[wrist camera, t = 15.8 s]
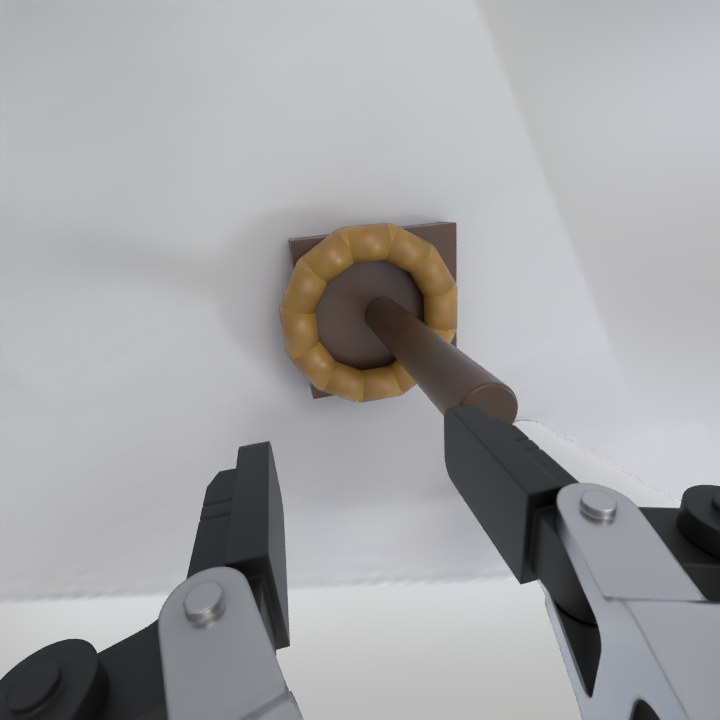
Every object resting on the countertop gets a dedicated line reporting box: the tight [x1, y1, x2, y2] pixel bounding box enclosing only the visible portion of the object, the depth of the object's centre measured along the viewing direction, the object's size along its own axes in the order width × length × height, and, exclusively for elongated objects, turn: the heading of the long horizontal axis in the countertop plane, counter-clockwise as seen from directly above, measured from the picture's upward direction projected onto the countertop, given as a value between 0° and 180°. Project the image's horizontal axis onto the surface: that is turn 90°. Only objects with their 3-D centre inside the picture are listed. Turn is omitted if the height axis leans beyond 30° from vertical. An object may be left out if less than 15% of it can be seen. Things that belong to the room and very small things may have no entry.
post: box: [289, 222, 518, 424], centre depth 18 cm, size 9×9×14 cm
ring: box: [279, 223, 457, 402], centre depth 22 cm, size 10×10×2 cm
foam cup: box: [513, 421, 681, 594], centre depth 25 cm, size 10×9×13 cm
